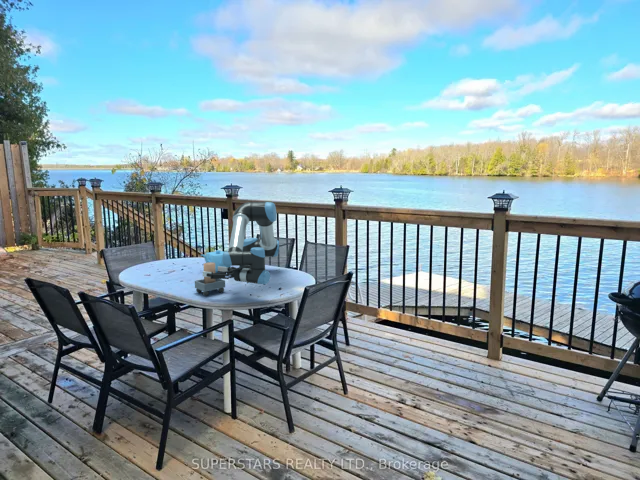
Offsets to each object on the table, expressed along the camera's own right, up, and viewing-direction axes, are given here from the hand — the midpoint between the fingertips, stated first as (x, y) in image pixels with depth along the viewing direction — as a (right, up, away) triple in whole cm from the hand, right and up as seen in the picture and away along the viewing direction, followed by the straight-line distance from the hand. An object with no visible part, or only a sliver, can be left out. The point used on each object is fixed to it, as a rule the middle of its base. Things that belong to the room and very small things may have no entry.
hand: (210, 271), depth 223 cm
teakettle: (-9, -5, +53) cm, 54 cm away
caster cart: (-1, -13, +3) cm, 13 cm away
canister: (-1, -8, +2) cm, 8 cm away
